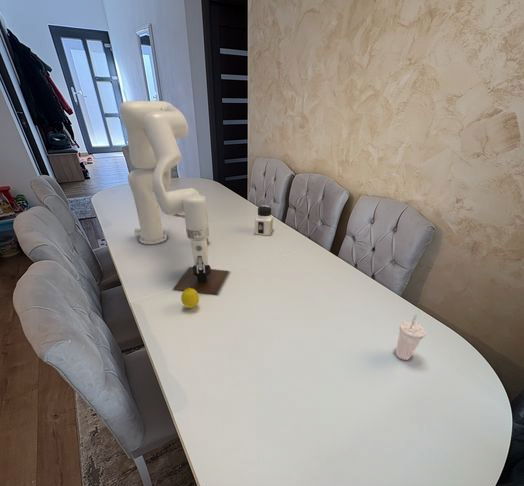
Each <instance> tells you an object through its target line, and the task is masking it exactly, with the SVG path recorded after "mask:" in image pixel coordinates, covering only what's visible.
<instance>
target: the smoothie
mask: <svg viewBox="0 0 524 486" xmlns="http://www.w3.org/2000/svg"><path fill="white" fill-rule="evenodd" d="M417 317H418V315H417V314H414V315H413V317H412V320H405V321H402V322H401V323H400V324H399V326H398V330H399V331H398V332H399V333H398V339H397V344H396V350H395V356H397V358H399V359H400V360H403V361H407V360H410V358H411V357H412V355H413V354H414V352H415V351H416V349H417V347H418V345H419V344H420V342H421V340H422V339H424V338H426V333H427V331H426V328H424V326H423V325H421V324H420V323H419V322H417V321H416V319H417Z"/></svg>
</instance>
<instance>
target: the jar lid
mask: <svg viewBox="0 0 524 486" xmlns="http://www.w3.org/2000/svg"><path fill="white" fill-rule="evenodd" d="M202 264H203V263H202ZM191 267H192V272H193V275H195V276H197V265H196V266H195V264H194V265H193V266H191ZM198 268H199V266H198ZM202 268H203V266H202ZM211 269H212V267H211V266H210V265H209V264H208V265H205V272H206V276H207V275H209V274H210V273H211Z"/></svg>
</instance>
